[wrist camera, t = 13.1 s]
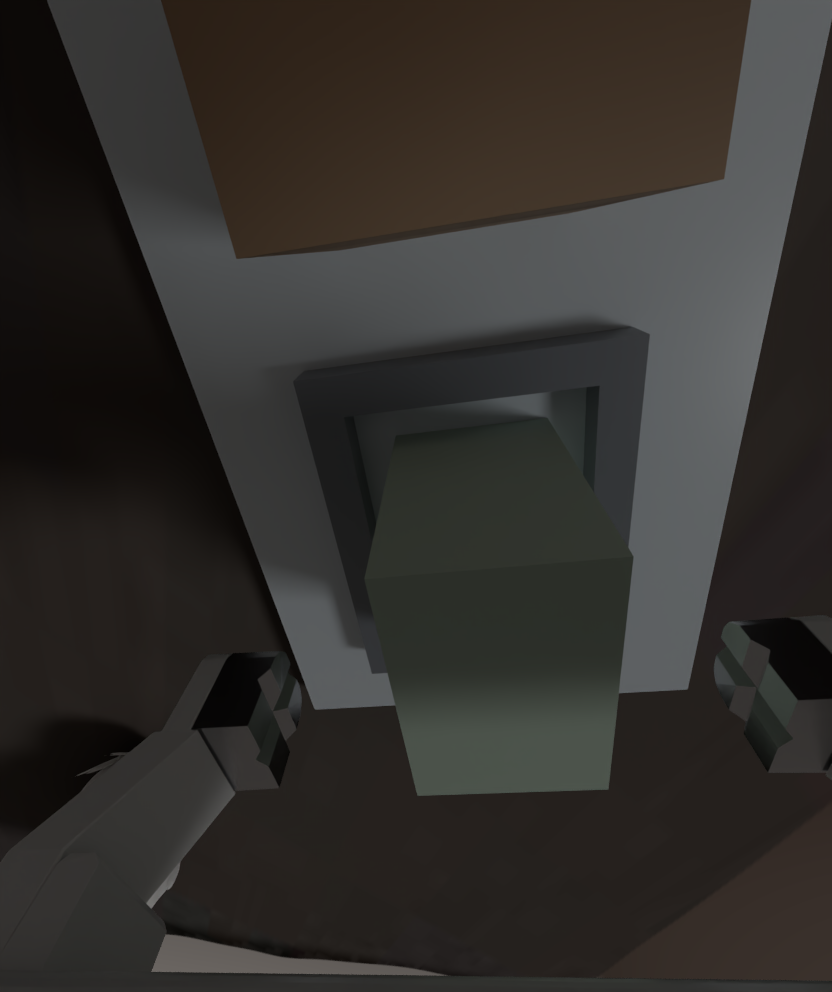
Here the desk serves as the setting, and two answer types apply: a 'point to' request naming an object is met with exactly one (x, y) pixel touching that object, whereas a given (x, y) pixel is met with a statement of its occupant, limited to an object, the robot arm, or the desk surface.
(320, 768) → the desk surface
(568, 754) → the sage block
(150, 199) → the board
